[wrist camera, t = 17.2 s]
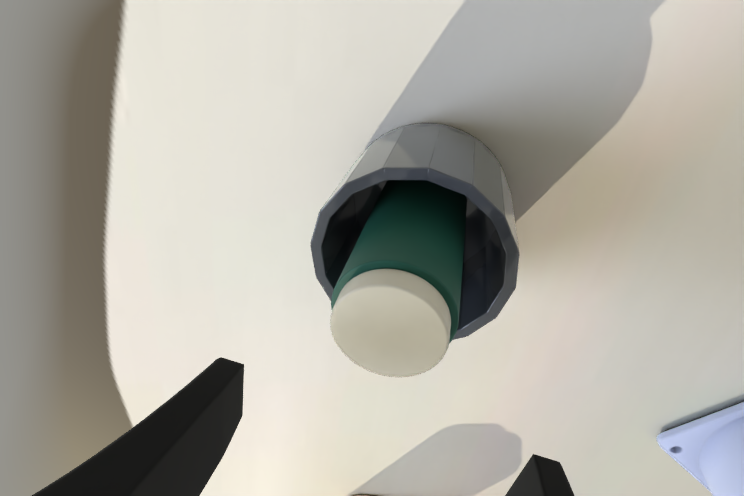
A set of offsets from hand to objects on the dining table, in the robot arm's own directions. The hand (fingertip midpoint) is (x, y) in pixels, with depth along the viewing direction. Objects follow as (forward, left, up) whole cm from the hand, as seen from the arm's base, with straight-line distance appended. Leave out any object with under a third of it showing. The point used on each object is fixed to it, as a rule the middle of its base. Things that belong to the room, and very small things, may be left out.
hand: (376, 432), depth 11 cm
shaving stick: (+1, -1, -10) cm, 10 cm away
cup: (+1, -1, -10) cm, 10 cm away
